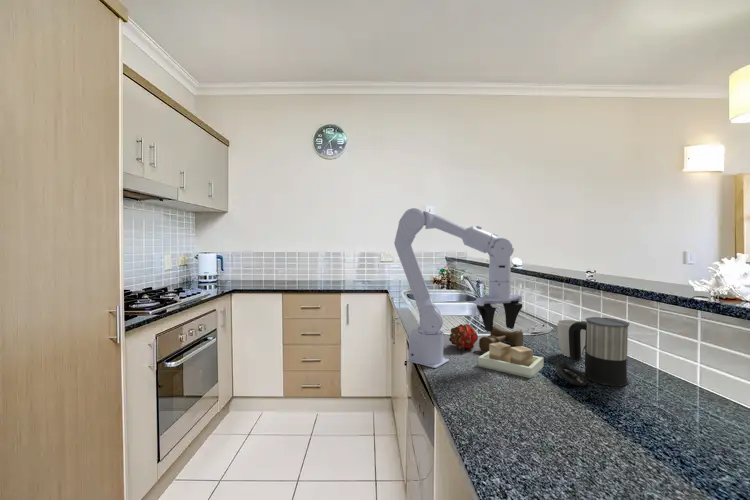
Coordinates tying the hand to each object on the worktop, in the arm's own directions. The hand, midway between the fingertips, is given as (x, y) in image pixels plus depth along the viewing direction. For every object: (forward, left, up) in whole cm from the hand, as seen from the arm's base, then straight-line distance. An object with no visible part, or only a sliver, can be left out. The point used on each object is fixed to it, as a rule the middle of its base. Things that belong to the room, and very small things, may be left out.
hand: (499, 329), depth 99 cm
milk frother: (+22, +3, -10) cm, 24 cm away
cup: (+14, +22, -10) cm, 28 cm away
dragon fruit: (-15, +8, -10) cm, 20 cm away
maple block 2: (+6, 0, -9) cm, 11 cm away
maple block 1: (0, 0, -9) cm, 9 cm away
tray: (+3, 0, -10) cm, 10 cm away
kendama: (-6, +18, -10) cm, 22 cm away
